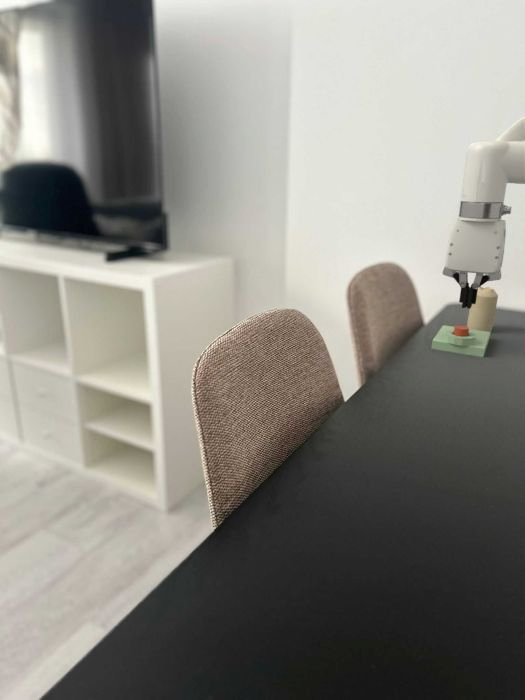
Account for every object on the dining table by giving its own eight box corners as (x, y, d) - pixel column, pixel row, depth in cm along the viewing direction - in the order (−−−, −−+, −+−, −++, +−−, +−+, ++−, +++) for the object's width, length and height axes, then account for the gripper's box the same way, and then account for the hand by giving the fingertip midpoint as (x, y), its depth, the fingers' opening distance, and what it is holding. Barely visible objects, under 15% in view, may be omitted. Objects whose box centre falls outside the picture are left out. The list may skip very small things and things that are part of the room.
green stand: (489, 340, 112) (491, 324, 111) (483, 358, 101) (485, 341, 99) (441, 333, 116) (443, 318, 115) (430, 350, 105) (432, 333, 104)
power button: (468, 335, 105) (470, 326, 104) (467, 338, 102) (468, 330, 102) (454, 332, 106) (455, 324, 105) (452, 336, 103) (453, 328, 103)
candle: (462, 329, 119) (468, 287, 116) (472, 325, 123) (479, 284, 120) (485, 334, 116) (493, 291, 112) (495, 330, 119) (503, 288, 116)
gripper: (525, 212, 96) (508, 307, 102) (442, 209, 103) (431, 298, 109) (523, 215, 90) (506, 316, 96) (435, 211, 96) (424, 306, 102)
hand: (466, 306), depth 102 cm, fingers closed
